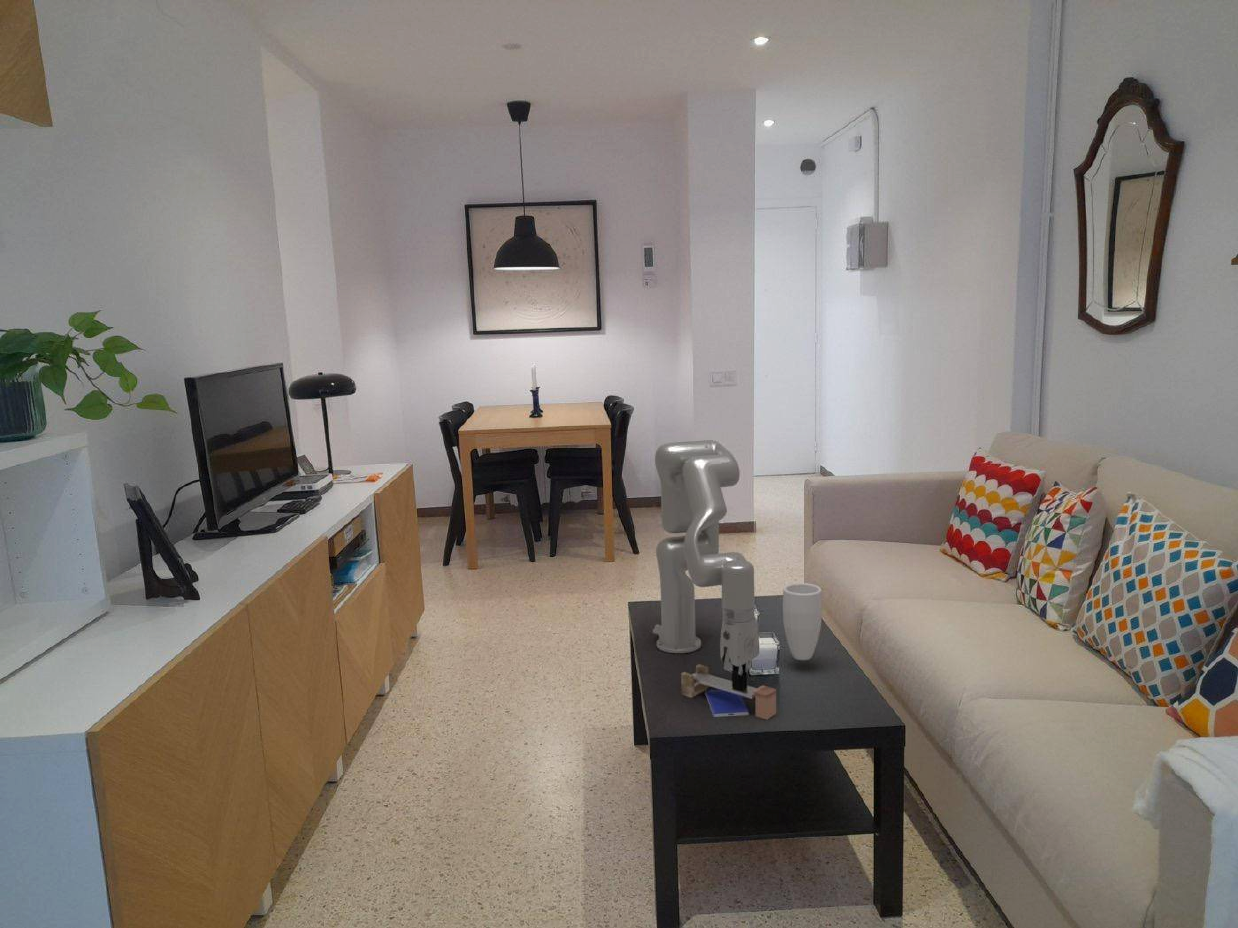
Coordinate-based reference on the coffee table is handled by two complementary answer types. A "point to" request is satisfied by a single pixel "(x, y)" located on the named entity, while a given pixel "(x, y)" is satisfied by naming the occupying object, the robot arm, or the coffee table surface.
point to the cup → (802, 618)
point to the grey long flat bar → (722, 684)
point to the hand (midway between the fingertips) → (739, 688)
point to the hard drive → (725, 703)
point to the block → (765, 702)
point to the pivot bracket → (688, 682)
